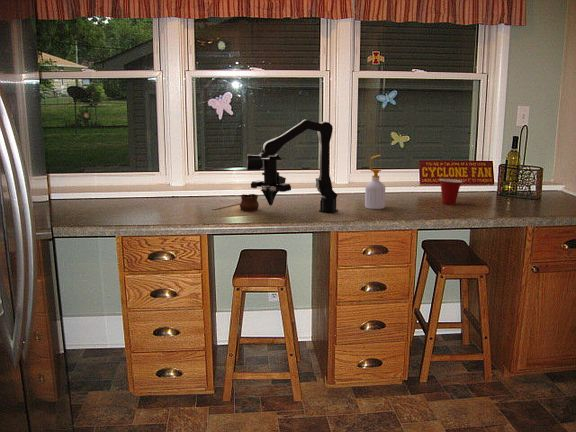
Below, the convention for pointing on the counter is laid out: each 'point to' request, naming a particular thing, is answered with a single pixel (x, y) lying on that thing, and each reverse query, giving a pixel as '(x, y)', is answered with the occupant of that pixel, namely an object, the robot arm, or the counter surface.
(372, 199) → the soap bottle
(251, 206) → the ceramic pot
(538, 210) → the counter surface
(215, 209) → the strip
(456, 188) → the plastic cup
